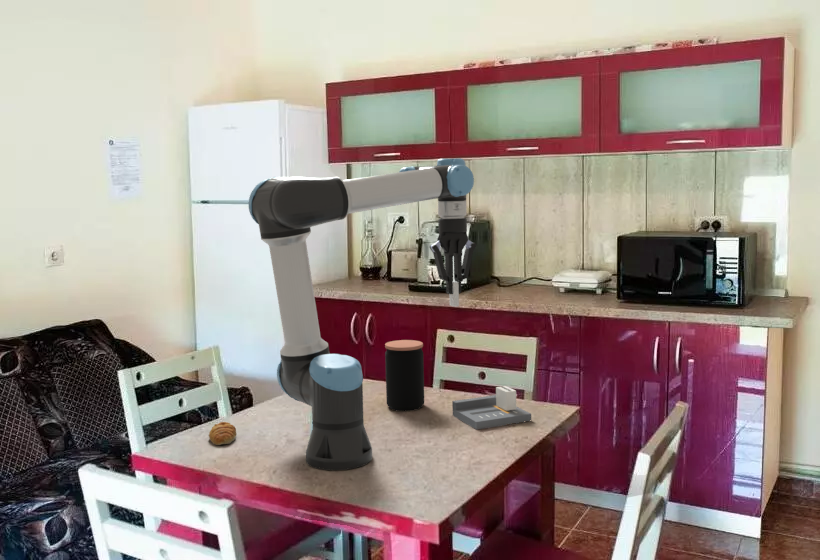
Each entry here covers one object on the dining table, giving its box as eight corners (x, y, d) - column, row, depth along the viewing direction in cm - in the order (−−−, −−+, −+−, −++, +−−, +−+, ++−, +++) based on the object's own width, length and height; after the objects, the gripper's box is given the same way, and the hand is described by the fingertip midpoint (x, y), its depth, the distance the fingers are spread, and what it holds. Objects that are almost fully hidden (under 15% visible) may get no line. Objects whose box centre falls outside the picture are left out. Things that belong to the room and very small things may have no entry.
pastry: (238, 445, 200) (237, 430, 200) (209, 448, 198) (208, 433, 198) (235, 434, 209) (235, 419, 209) (208, 437, 207) (207, 422, 207)
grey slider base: (476, 429, 207) (475, 414, 207) (452, 415, 220) (452, 401, 219) (531, 421, 213) (531, 406, 213) (505, 407, 226) (505, 393, 225)
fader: (506, 410, 215) (506, 391, 214) (496, 405, 220) (495, 386, 219) (516, 409, 216) (516, 390, 215) (506, 404, 221) (505, 385, 220)
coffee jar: (426, 401, 235) (424, 339, 232) (422, 412, 224) (421, 347, 222) (389, 401, 236) (387, 339, 233) (384, 411, 225) (382, 347, 223)
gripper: (435, 218, 210) (437, 309, 213) (481, 216, 215) (482, 305, 218) (424, 217, 217) (426, 305, 220) (468, 216, 222) (469, 302, 225)
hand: (454, 305), depth 219 cm, fingers closed
